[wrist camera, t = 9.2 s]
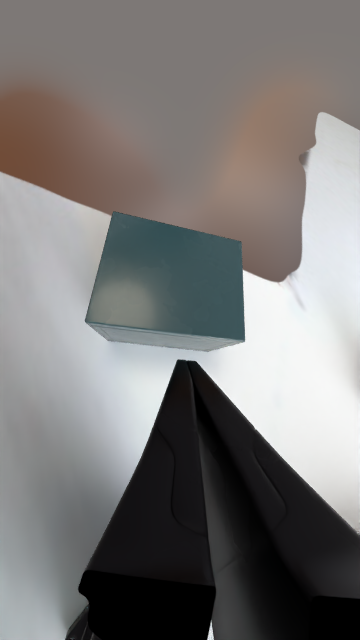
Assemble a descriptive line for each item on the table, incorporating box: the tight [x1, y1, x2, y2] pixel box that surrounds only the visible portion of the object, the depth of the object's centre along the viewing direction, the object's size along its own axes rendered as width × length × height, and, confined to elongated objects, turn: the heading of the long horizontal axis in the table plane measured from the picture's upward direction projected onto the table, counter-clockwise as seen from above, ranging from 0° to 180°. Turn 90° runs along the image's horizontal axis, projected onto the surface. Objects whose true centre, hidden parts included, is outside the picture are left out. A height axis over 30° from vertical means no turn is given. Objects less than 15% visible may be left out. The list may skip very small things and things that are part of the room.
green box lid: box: [85, 212, 245, 343], centre depth 14 cm, size 9×11×1 cm
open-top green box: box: [89, 325, 239, 352], centre depth 17 cm, size 9×11×7 cm
